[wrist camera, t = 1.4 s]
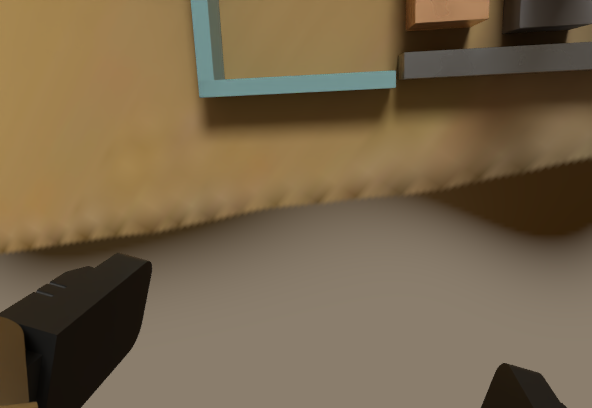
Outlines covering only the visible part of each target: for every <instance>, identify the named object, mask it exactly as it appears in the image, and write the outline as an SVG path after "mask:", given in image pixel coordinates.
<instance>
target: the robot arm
mask: <svg viewBox="0 0 592 408" xmlns="http://www.w3.org/2000/svg"><path fill="white" fill-rule="evenodd" d="M151 273H152V264H151V262H150V261H147V260H143V259H140V258H136V257H132V256H129V255H126V254H122V253H116V254H115V255H113V256H112V257H110V258H109V259H107V260H106V261H104V262H103V263H101V264H100V265H99V266H97V267H95V268H93V267H90V266H87V267H83V268H79V269H75V270H71V271H68V272H65V273H63V274H62V275H60V276H59V277H57V278H55V279H54V280H52V281H51V282H50V284H46V285H44V286H43V287H41V288H39V289H38V290H37V292H36V293H35V292H33V293H32V294H30V295H28V296H26V297H25V298H23V299H22V300H20V301H18V302H17V303H15V304H14V305H12V306H10V307H9V308H7V309H6V310H4V311H2V312H1V313H0V408H81V407H82V406H83V405H84V403H85V402H86V401H87V400H88V399H89V398H90V396H91V395H92V394H93V393H94V392H95V391H96V390H97V388H98V387H99V386H100V385H101V384H102V383H103V381H104V380H105V379H106V378H107V377H108V376H109V375H110V373H111V372H112V371H113V370H114V368H116V366H117V365H118V364H119V363H120V362H121V361H122V359H123V358H124V357H125V356H126V355H127V353H129V351H130V350H131V349H132V347H133V345H134V343H135V341H136V339H137V337H138V334H139V332H140V329H141V325H142V320H143V315H144V310H145V304H146V299H147V294H148V289H149V284H150V278H151ZM481 408H567V407H566V406H565V405H563V404H562V403H560V401H559V400H558V398H557V397H556V395H555V394H554V392H553V391H552V389H551V388H550V386H549V385H548V383H547V382H546V380H545V379H544V377H543V376H542V375H541V374H540V373H538V372H534V371H531V370H527V369H524V368H520V367H517V366H514V365H510V364H507V363H503V364H501V365H500V366H499V367H498V368H497V370H496V372H495V374H494V377H493V379H492V382H491V384H490V387H489V389H488V392H487V394H486V397H485V399H484V401H483V404H482V406H481Z"/></svg>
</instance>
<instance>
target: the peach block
mask: <svg viewBox="0 0 592 408" xmlns="http://www.w3.org/2000/svg"><path fill="white" fill-rule="evenodd" d="M487 19H489V0H406V31H419V30H435V29H452V28H469V27H472V26H474V25H476V24H478V23H480V22H482V21H485V20H487Z"/></svg>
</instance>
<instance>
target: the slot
mask: <svg viewBox="0 0 592 408" xmlns="http://www.w3.org/2000/svg"><path fill="white" fill-rule="evenodd" d="M581 70H592V42H580V43H562V44H545V45H527V46H509V47H491V48H474V49H456V50H438V51H420V52H404V53H402V54H401V55H399V56H398V80H406V79H426V78H445V77H464V76H484V75H503V74H523V73H542V72H562V71H581Z"/></svg>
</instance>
